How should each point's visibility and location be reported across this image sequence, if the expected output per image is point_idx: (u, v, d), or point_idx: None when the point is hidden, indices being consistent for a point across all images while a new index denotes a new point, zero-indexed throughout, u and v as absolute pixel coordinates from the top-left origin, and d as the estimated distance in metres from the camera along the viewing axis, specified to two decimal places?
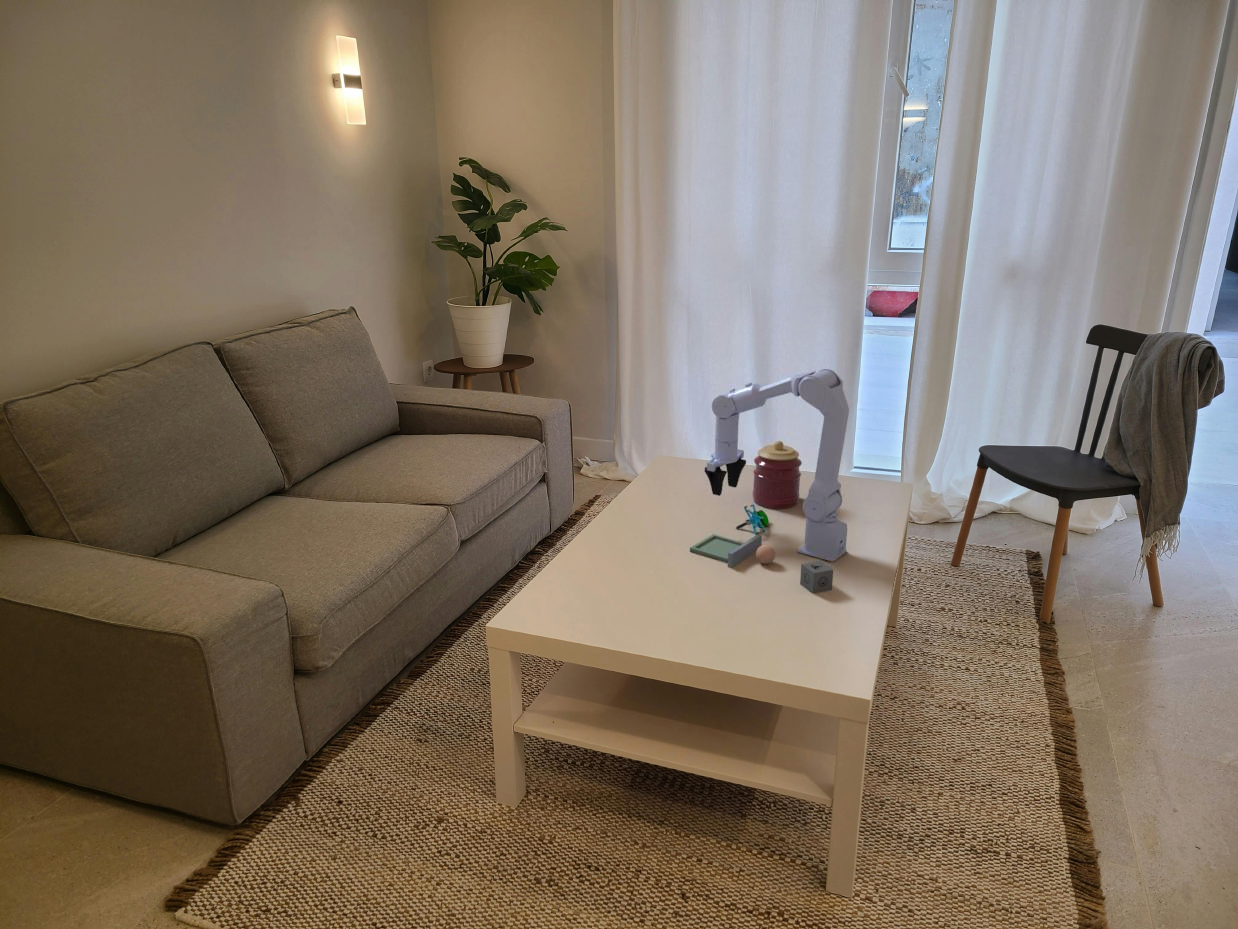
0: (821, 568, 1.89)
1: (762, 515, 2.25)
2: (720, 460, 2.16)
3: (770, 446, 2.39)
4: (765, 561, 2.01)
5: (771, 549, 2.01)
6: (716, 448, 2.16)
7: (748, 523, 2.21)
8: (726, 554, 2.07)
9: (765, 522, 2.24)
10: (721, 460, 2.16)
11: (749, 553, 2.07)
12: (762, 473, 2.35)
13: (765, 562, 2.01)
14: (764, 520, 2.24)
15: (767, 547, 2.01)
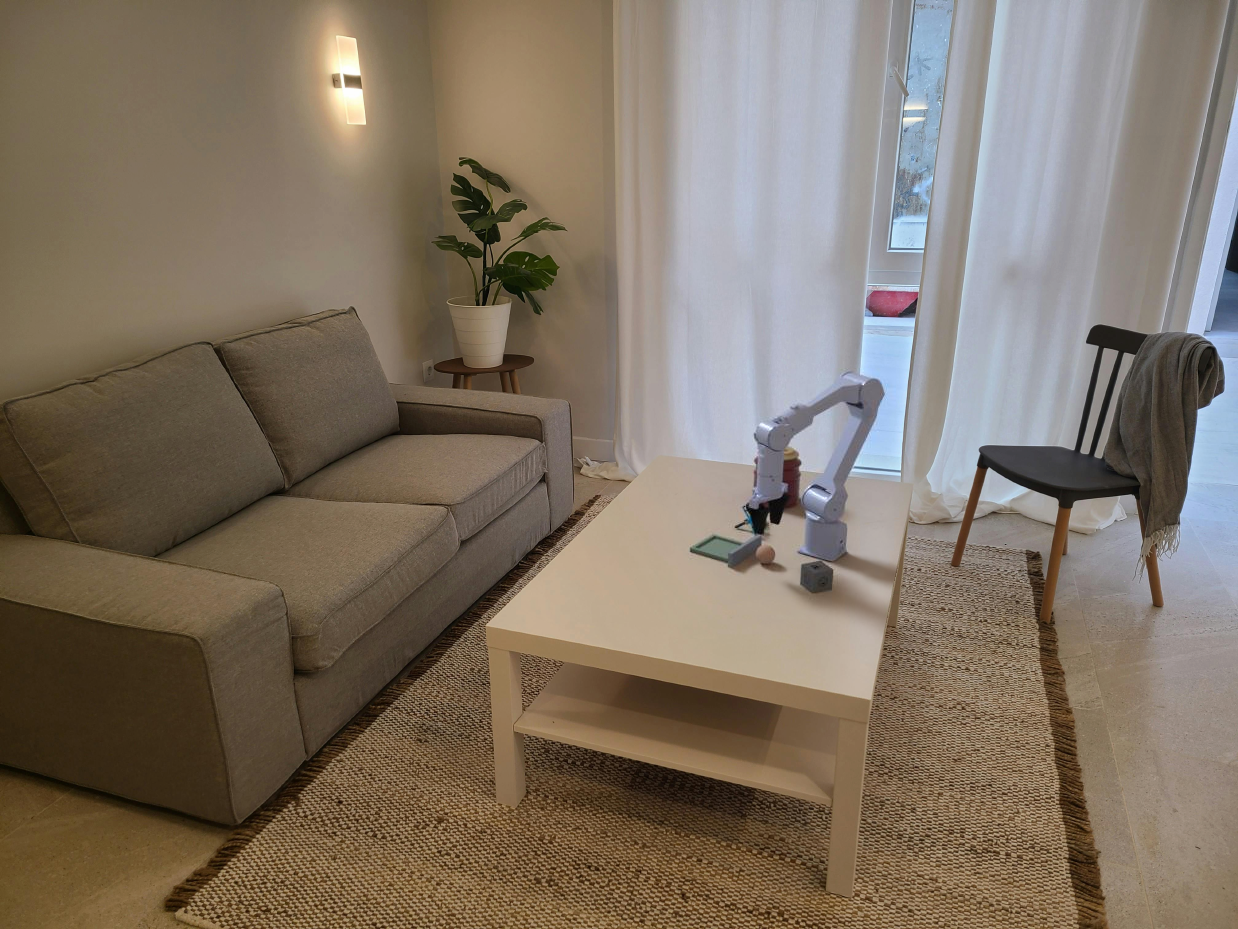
0: (821, 568, 1.89)
1: None
2: (763, 496, 1.95)
3: None
4: (765, 561, 2.01)
5: (771, 549, 2.01)
6: (759, 482, 1.95)
7: (746, 523, 2.21)
8: (726, 554, 2.07)
9: None
10: (764, 496, 1.95)
11: (749, 553, 2.07)
12: None
13: (765, 562, 2.01)
14: None
15: (767, 547, 2.01)
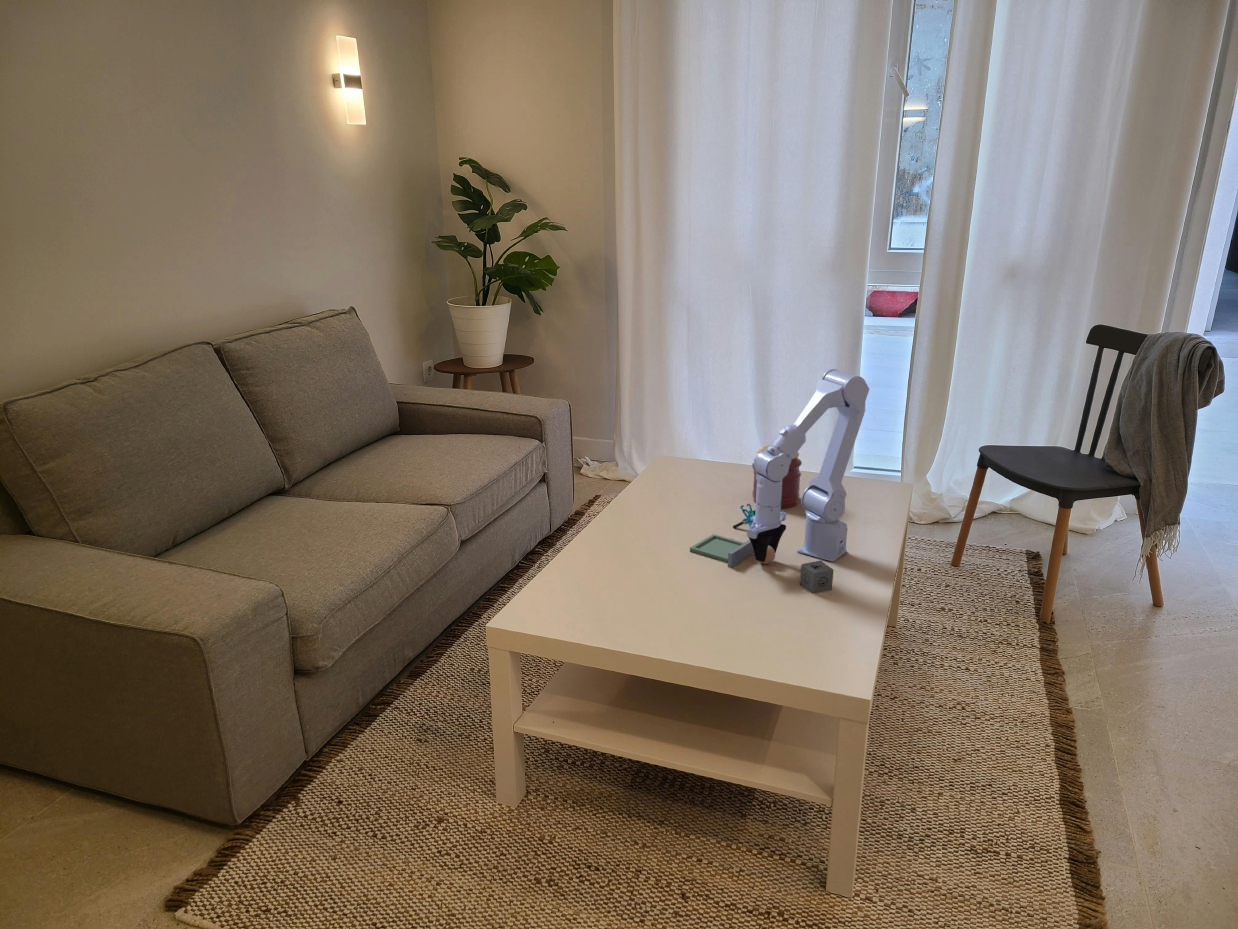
0: (821, 568, 1.89)
1: None
2: (762, 525, 1.97)
3: None
4: (765, 561, 2.01)
5: (771, 549, 2.01)
6: (757, 512, 1.98)
7: (745, 522, 2.21)
8: (726, 554, 2.07)
9: None
10: (763, 525, 1.97)
11: (749, 553, 2.07)
12: None
13: (765, 562, 2.01)
14: None
15: None
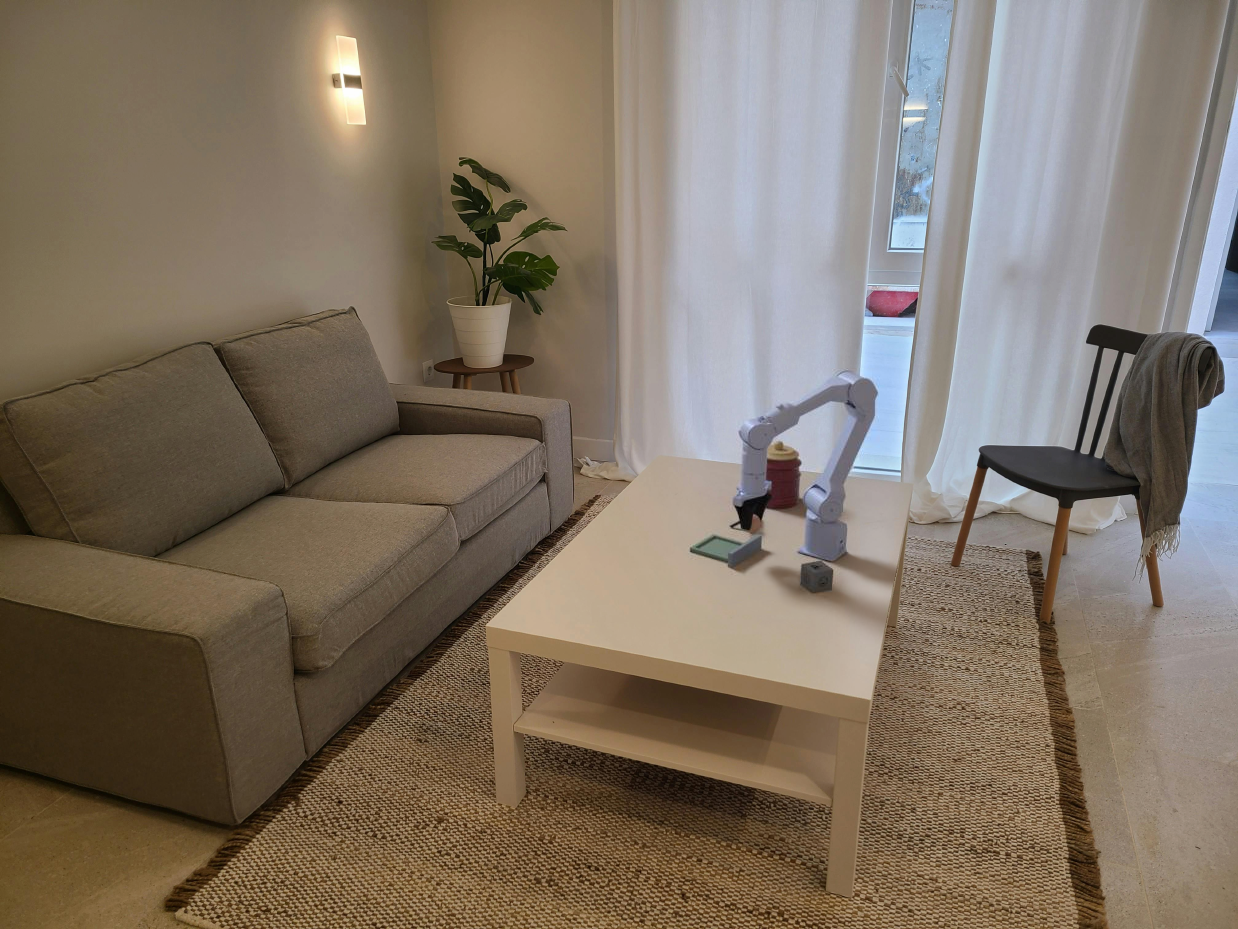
0: (821, 568, 1.89)
1: None
2: (747, 494, 1.97)
3: (770, 446, 2.39)
4: (751, 530, 2.01)
5: (757, 518, 2.01)
6: (743, 480, 1.98)
7: None
8: (726, 554, 2.07)
9: None
10: (748, 494, 1.97)
11: (749, 553, 2.07)
12: None
13: (751, 531, 2.01)
14: None
15: (753, 516, 2.01)
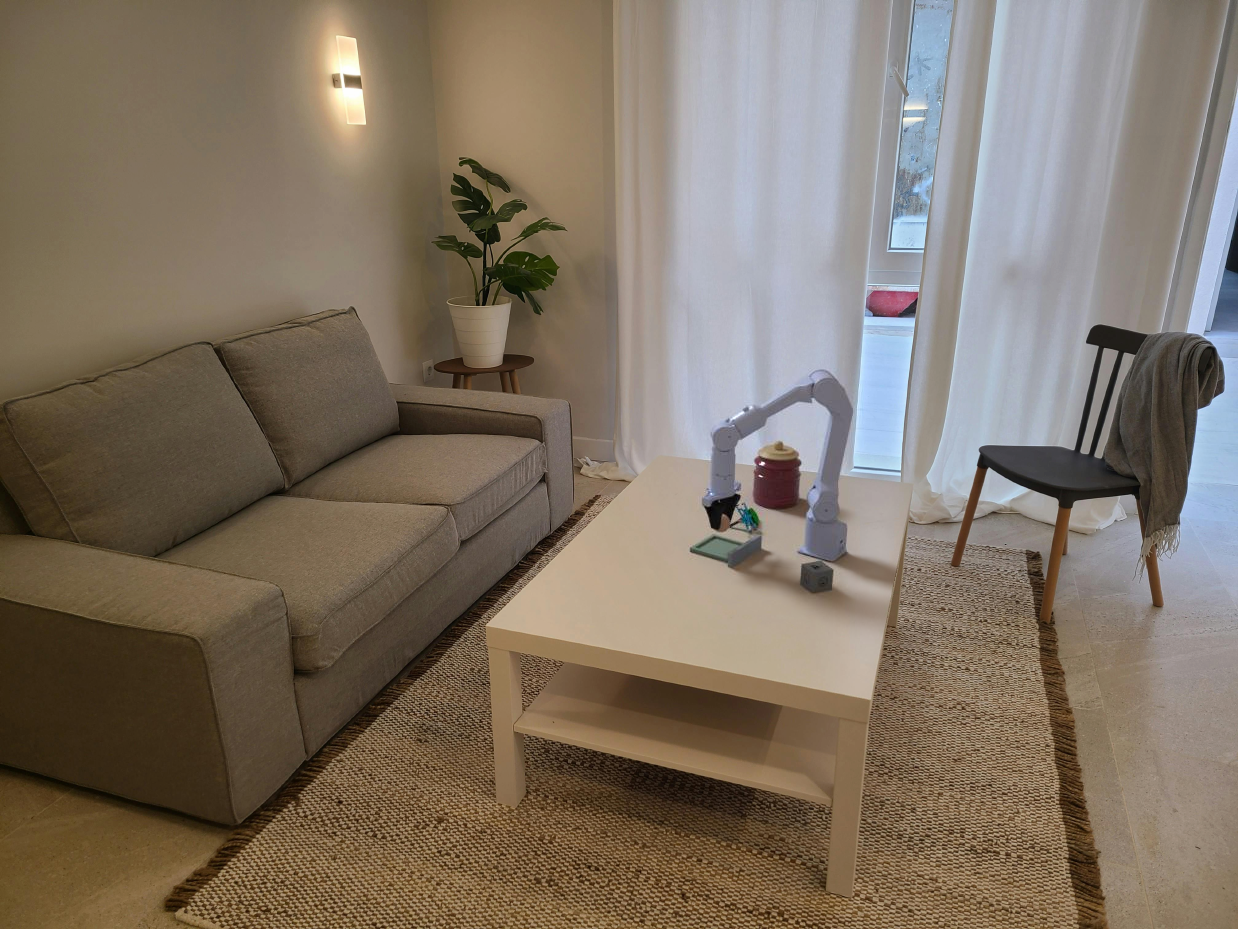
0: (821, 568, 1.89)
1: (752, 513, 2.26)
2: (716, 494, 2.03)
3: (770, 446, 2.39)
4: (720, 530, 2.06)
5: (726, 518, 2.07)
6: (712, 481, 2.03)
7: (740, 521, 2.22)
8: (726, 554, 2.07)
9: (756, 520, 2.25)
10: (717, 494, 2.03)
11: (749, 553, 2.07)
12: (762, 473, 2.35)
13: (720, 530, 2.07)
14: (755, 518, 2.26)
15: (722, 515, 2.07)
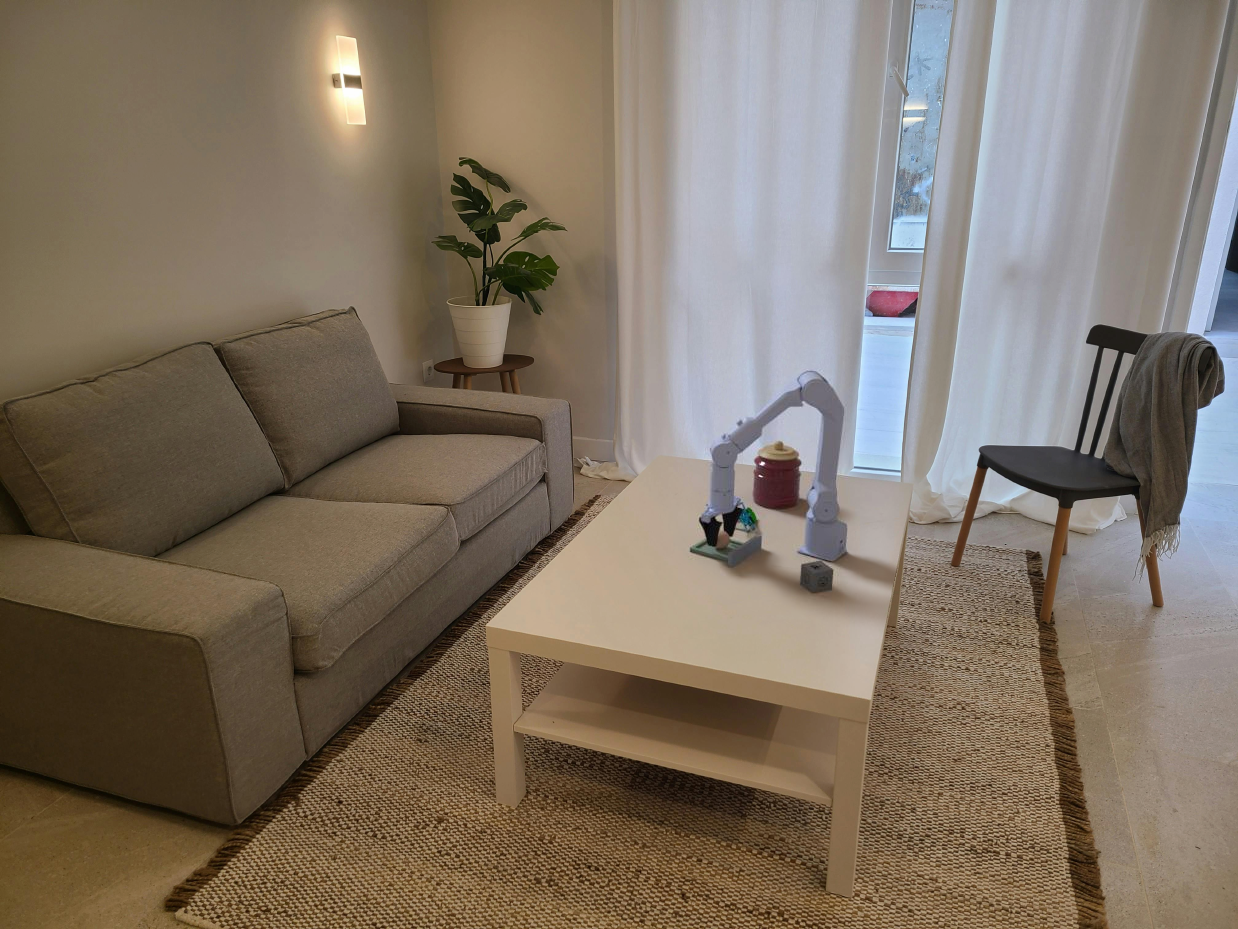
0: (821, 568, 1.89)
1: (750, 512, 2.26)
2: (715, 510, 2.04)
3: (770, 446, 2.39)
4: (720, 546, 2.08)
5: (726, 534, 2.08)
6: (711, 497, 2.05)
7: (738, 521, 2.22)
8: (726, 554, 2.07)
9: (754, 519, 2.26)
10: (716, 510, 2.04)
11: (749, 553, 2.07)
12: (762, 473, 2.35)
13: (720, 547, 2.08)
14: (752, 517, 2.26)
15: (722, 532, 2.08)
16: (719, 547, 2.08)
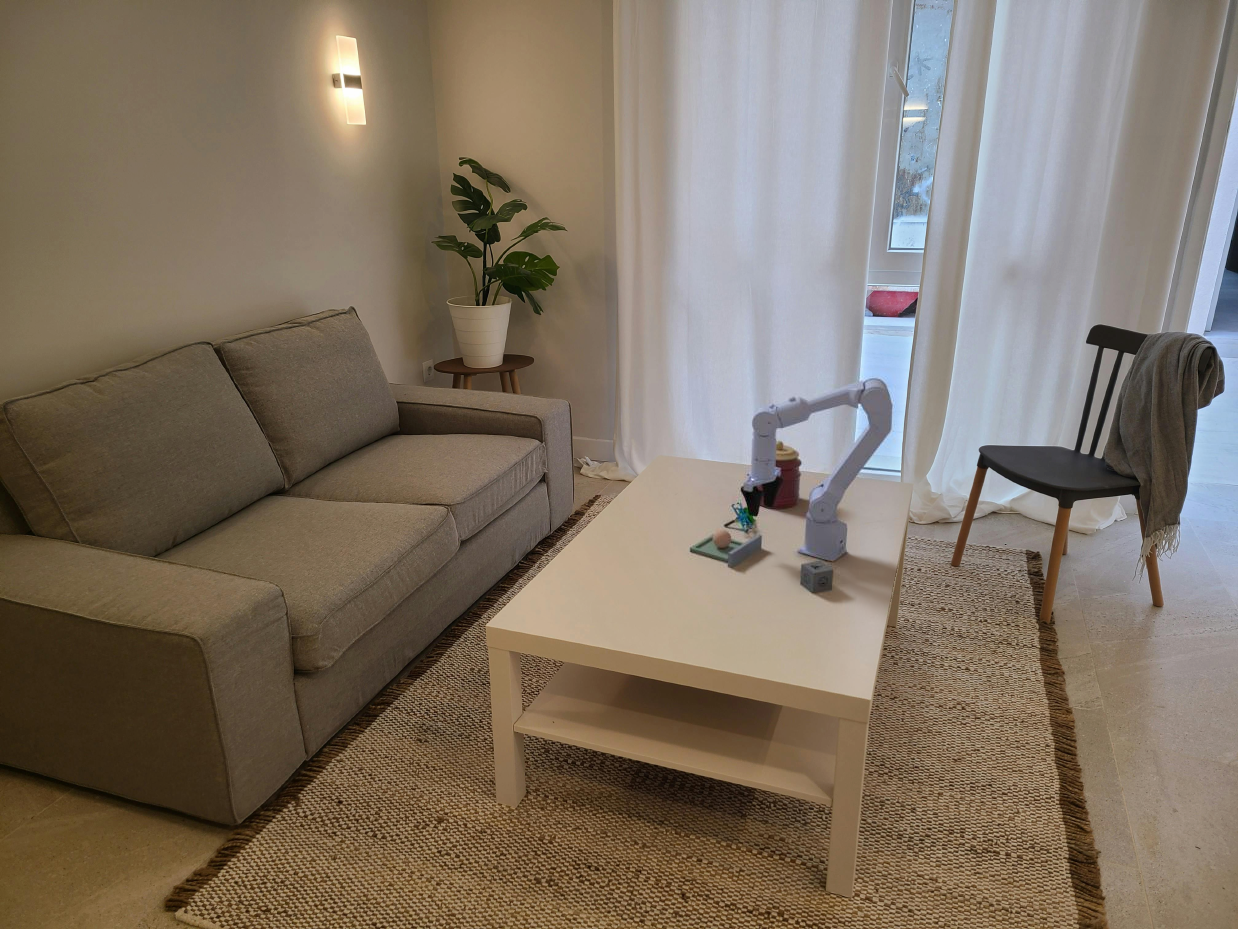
0: (821, 568, 1.89)
1: (747, 512, 2.27)
2: (757, 479, 2.04)
3: None
4: (721, 543, 2.08)
5: (728, 533, 2.09)
6: (753, 466, 2.04)
7: (736, 521, 2.22)
8: (726, 554, 2.07)
9: (751, 519, 2.26)
10: (758, 479, 2.04)
11: (749, 553, 2.07)
12: None
13: (720, 544, 2.08)
14: (750, 517, 2.26)
15: (725, 531, 2.09)
16: (720, 545, 2.08)
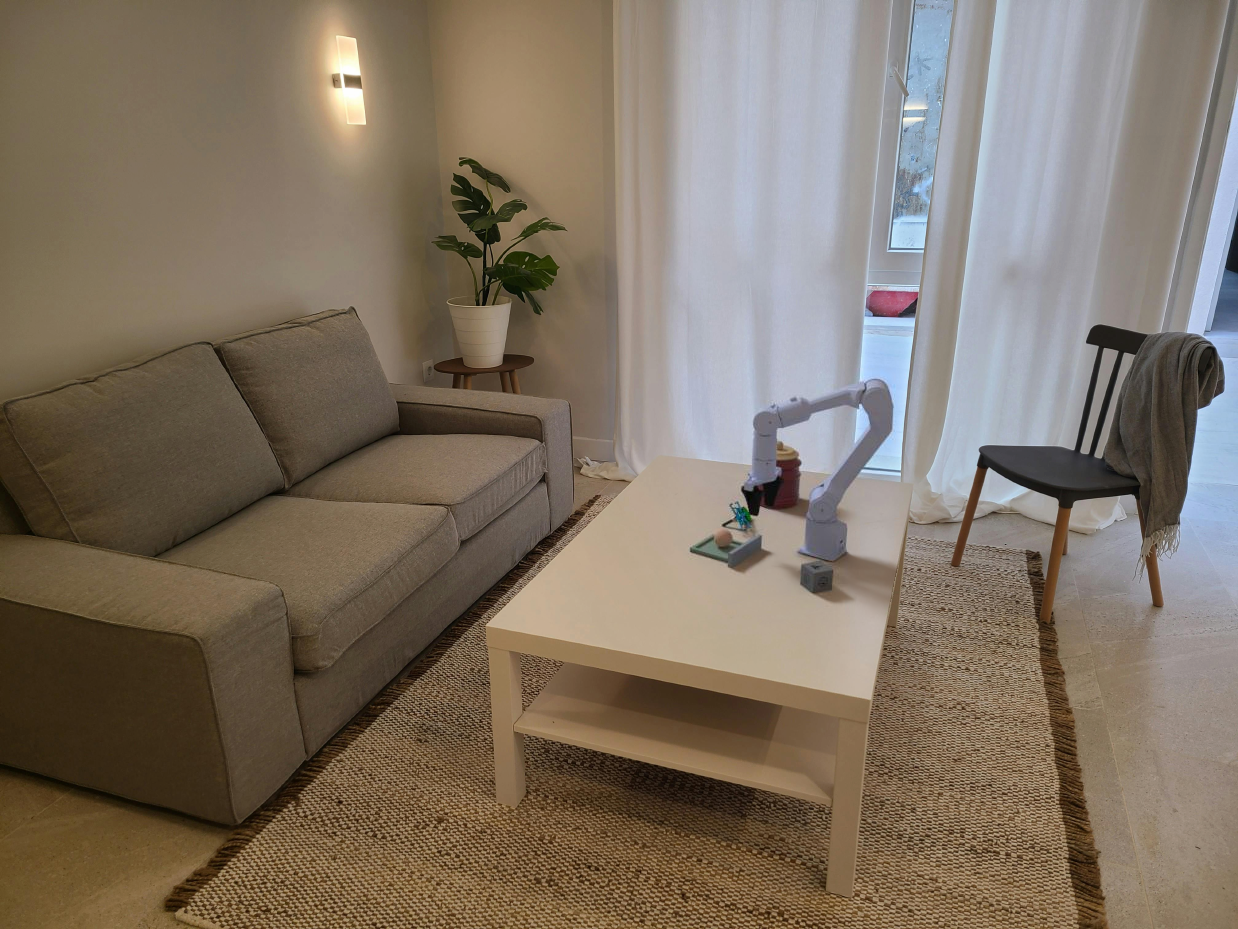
0: (821, 568, 1.89)
1: (745, 511, 2.27)
2: (758, 479, 2.04)
3: None
4: (722, 541, 2.08)
5: (730, 533, 2.10)
6: (753, 466, 2.05)
7: (734, 520, 2.22)
8: (726, 554, 2.07)
9: (749, 518, 2.27)
10: (759, 479, 2.04)
11: (749, 553, 2.07)
12: None
13: (722, 542, 2.08)
14: (747, 516, 2.27)
15: (727, 530, 2.10)
16: (721, 542, 2.09)
